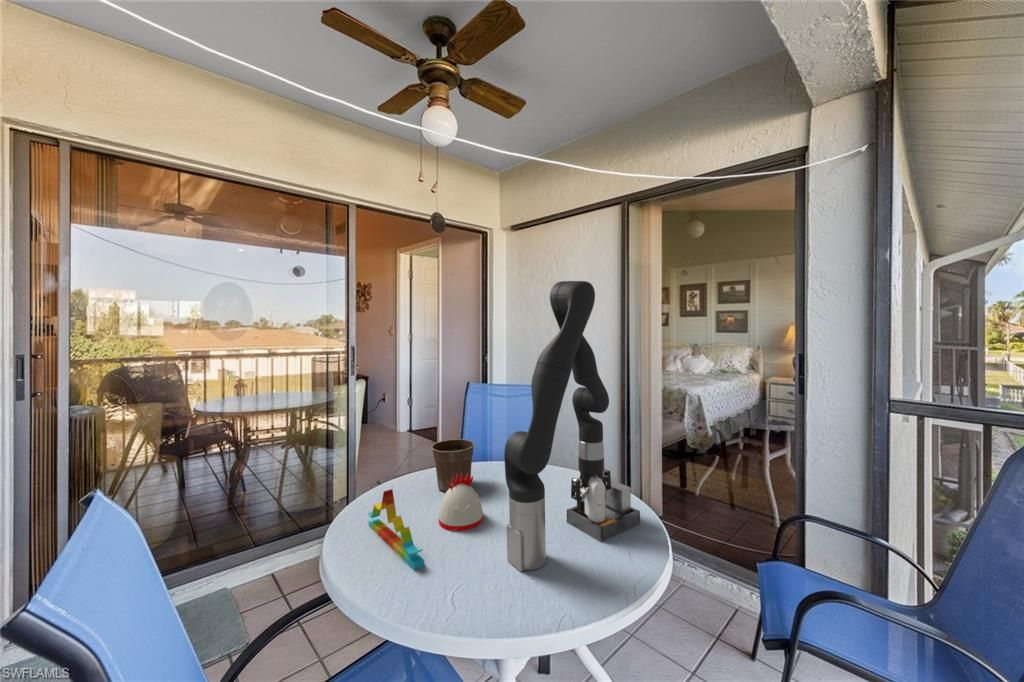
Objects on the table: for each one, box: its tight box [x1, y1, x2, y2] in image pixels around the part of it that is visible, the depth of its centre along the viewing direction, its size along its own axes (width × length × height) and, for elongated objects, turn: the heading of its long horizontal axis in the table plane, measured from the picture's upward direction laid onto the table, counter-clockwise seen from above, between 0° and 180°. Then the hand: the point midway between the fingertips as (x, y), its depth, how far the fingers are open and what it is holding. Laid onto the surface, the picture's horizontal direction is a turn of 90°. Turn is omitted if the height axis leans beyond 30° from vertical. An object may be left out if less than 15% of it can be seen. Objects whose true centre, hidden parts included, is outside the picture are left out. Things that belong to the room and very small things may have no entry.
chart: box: [367, 488, 425, 571], centre depth 116 cm, size 30×3×15 cm, turn 40°
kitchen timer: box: [438, 473, 484, 532], centre depth 129 cm, size 14×14×15 cm
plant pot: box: [431, 438, 475, 493], centre depth 155 cm, size 16×16×16 cm
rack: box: [566, 479, 641, 543], centre depth 125 cm, size 17×14×11 cm
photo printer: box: [581, 475, 605, 522], centre depth 122 cm, size 10×4×12 cm, turn 17°
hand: (591, 508), depth 122 cm, fingers open, 8 cm apart
